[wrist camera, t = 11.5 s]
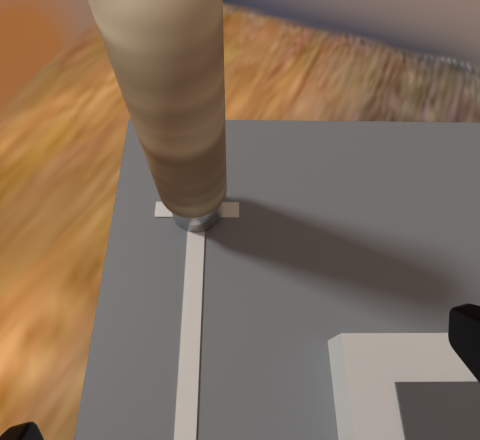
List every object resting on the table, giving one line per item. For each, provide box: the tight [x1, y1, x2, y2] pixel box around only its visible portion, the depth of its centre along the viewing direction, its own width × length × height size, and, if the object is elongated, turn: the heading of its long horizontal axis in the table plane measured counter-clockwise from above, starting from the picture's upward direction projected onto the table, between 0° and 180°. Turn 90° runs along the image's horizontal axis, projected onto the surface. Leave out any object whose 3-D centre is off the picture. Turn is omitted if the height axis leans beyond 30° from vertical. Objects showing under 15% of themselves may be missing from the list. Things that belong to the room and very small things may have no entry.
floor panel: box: [74, 119, 480, 440], centre depth 20 cm, size 24×26×1 cm
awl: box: [88, 0, 227, 233], centre depth 15 cm, size 4×4×13 cm
